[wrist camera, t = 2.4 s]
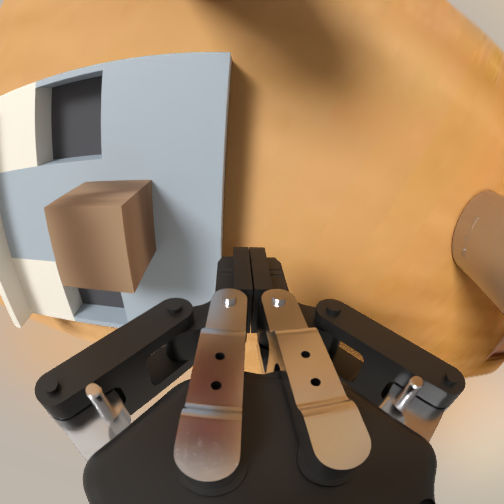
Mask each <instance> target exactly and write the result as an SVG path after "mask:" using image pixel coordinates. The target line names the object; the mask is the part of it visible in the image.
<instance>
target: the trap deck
mask: <svg viewBox="0 0 504 504" xmlns="http://www.w3.org/2000/svg"><path fill="white" fill-rule="evenodd" d="M231 65H232V58H231V52H193V53H174V54H162V55H152V56H143V57H136V58H129V59H123V60H117V61H111V62H106V63H101V64H96V65H92V66H88V67H83V68H79V69H76V70H72V71H68V72H65V73H61V74H58V75H55V76H51V77H48V78H45V79H42V80H39V81H37V82H34V83H31V84H28V85H26V86H23V87H21V88H18V89H16V90H13V91H11V92H8V93H6V94H4V95H2V96H0V215H1V219H2V223H3V228H4V232H5V236H6V239H7V243H8V246H9V250H10V253H11V257H12V260H13V263H14V266H15V269H16V272H17V275H18V278H19V280H20V283H21V286H22V288H23V291H24V294H25V296H26V299H27V301H28V303H29V306H30V308H31V310H32V313H37V314H41V315H46V316H51V317H56V318H61V319H66V320H72V321H77V322H83V323H89V324H96V325H102V326H109V327H116V328H120V327H121V326H123V325H125V324H126V323H128V322H130V321H131V320H133V319H134V318H136V317H138V316H139V315H141V314H143V313H144V312H146V311H147V310H149V309H151V308H152V307H154V306H156V305H157V304H159V303H161V302H162V301H164V300H166V299H169V298H183V299H186V300H188V301H189V302H190V303H191V304H192V306H198V305H202V304H205V303H207V302H209V301H210V300H211V298H212V295H213V294H214V293H215V287H216V276H217V265H218V261H219V260H220V259H221V258H222V242H223V208H224V181H225V159H226V140H227V122H228V106H229V91H230V77H231ZM98 76H102V92H101V149H102V154H100V155H89V156H80V157H71V158H63V159H55V160H53V149H52V126H51V103H52V88H53V87H56V86H60V85H64V84H67V83H71V82H75V81H80V80H84V79H88V78H93V77H98ZM115 180H152V200H153V216H154V229H155V241H156V252H155V254H154V256H153V258H152V260H151V261H150V263H149V265H148V267H147V269H146V271H145V273H144V275H143V277H142V279H141V281H140V283H139V285H138V287H137V289H136V291H135V293H125V292H121V295H122V299H123V303H124V308H119V307H110V306H102V305H94V304H86V303H82V300H81V296H80V293H79V290H78V288H77V287H69V286H63V284H62V281H61V277H60V274H59V271H58V267H57V264H56V260H55V256H54V253H53V249H52V245H51V240H50V236H49V232H48V227H47V222H46V217H45V212H44V207H45V206H47V205H49V204H50V203H52V202H53V201H55V200H56V199H58V198H59V197H61V196H63V195H64V194H66V193H67V192H69V191H71V190H72V189H74V188H76V187H77V186H79V185H81V184H83V183H84V182H93V181H115Z"/></svg>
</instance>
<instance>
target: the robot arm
mask: <svg viewBox="0 0 504 504" xmlns="http://www.w3.org/2000/svg"><path fill="white" fill-rule="evenodd" d="M452 254H453V258H454V261H455V262H456V264H457V266H459V267H460V268H461V269H462V270H463V271H464V272H465V273H466V274H467V275H468V276H469V277H470V278H471V279H472V280H473V281H474V282H475V284H476V285H477V286H478V287H479V288H480V289H481V290H482V291H483V292H484V293H485V294H486V295H487V296H488V298H489V299H490V300H491V301H492V302H493V303H494V304H495V305H496V306H497V308H498V309H499V310H500V311H501V312H502V313H503V314H504V197H503V196H502V195H500V194H498V193H496V192H494V191H483V192H481V193H479V194H477V195H476V196H475V197H474V198H473V199H472V200H471V201H470V202H469V203H468V204H467V206H466V207H465V209H464V210H463V212H462V214H461V216H460V218H459V220H458V222H457V225H456V228H455V231H454V235H453V242H452ZM250 323H251V333H257V336H258V338H257V350H258V355H259V360H260V365H261V370H262V374H255V373H250V372H245V371H244V360H245V343H246V339H247V333H250ZM341 341H342V342H343V343H345V344H347V345H348V346H350V347H351V348H353V349H354V350H356V351H357V352H359V353H360V354H361V355H362V356H363V359H364V363H363V362H362V361H360V360H359V359H357V358H355V357H354V356H352V355H351V354H349V353H348V352H346V351H345V350H343V349H342V348H340V347H339V345H340V342H341ZM162 346H163V347H162ZM158 349H159V350H158ZM155 351H156V352H155ZM151 354H152V355H151ZM192 366H193V369H192V374H191V379H189V380H186V381H184V382H182V383H180V384H178V385H177V386H175V387H174V388H172V389H171V390H170V391H169V392H168V393H167V394H165V395H164V396H163V397H162V398H161V399H160V400H158V402H156V403H155V404H154V405H153V406H152V407H150V408H149V409H148V410H147V411H146V412H145V413H143V414H142V415H141V416H140V417H138V418H137V419H136V420H135V421H134V422H133V423H131V417H130V415H132V414H133V413H134V412H136V411H137V410H138V409H139V408H141V407H142V406H143V405H145V404H146V403H147V402H149V401H150V400H151V399H152V398H154V397H155V396H156V395H157V394H158V393H160V392H161V391H162V390H164V389H165V388H166V387H167V386H169V385H170V384H171V383H172V382H174V381H175V380H176V379H177V378H179V377H180V376H181V375H182V374H183V373H185V372H186V371H187V370H188V369H190V368H191V367H192ZM464 388H465V379H464V377H463V375H462V373H461V372H460V371H459V370H458V369H456V368H455V367H453V366H451V365H450V364H448V363H446V362H444V361H443V360H441V359H439V358H437V357H436V356H434V355H432V354H431V353H429V352H427V351H425V350H424V349H422V348H420V347H418V346H417V345H415V344H413V343H412V342H410V341H408V340H406V339H405V338H403V337H401V336H399V335H398V334H396V333H394V332H393V331H391V330H389V329H387V328H386V327H384V326H382V325H380V324H379V323H377V322H375V321H374V320H372V319H370V318H368V317H367V316H365V315H363V314H361V313H360V312H358V311H356V310H354V309H353V308H351V307H349V306H348V305H346V304H344V303H342V302H340V301H338V300H333V299H326V300H322V301H320V302H319V303H318V304H317V306H316V307H311V306H306V305H302V304H300V303H298V302H297V300H296V298H295V296H294V295H293V294H292V293H290V292H289V290H288V287H287V283H286V280H285V276H284V273H283V271H282V266H281V263H280V262H279V261H278V260H277V259H276V258H267V257H266V253H265V248H259V247H249V248H248V247H234V249H233V257H222V258H221V259H220V260H219V261H218V265H217V276H216V287H215V293H214V294H213V295H212V298H211V300H210V301H209V302H207V303H205V304H202V305H198V306H192V304H191V303H190V302H189V301H188V300H186V299H183V298H169V299H166V300H164V301H162V302H161V303H159V304H157V305H156V306H154V307H152V308H151V309H149V310H147V311H146V312H144V313H143V314H141V315H139V316H138V317H136V318H134V319H133V320H131V321H130V322H128V323H126V324H125V325H123V326H121V327H120V328H118V329H117V330H115V331H113V332H112V333H110V334H108V335H107V336H105V337H104V338H102V339H100V340H99V341H97V342H95V343H94V344H92V345H91V346H89V347H87V348H86V349H84V350H83V351H81V352H79V353H78V354H76V355H75V356H73V357H71V358H70V359H68V360H66V361H65V362H63V363H62V364H60V365H58V366H57V367H55V368H53V369H52V370H50V371H49V372H47V373H45V374H44V375H43V376H41V377H40V379H39V380H38V381H37V383H36V386H35V395H36V397H37V399H38V400H39V402H40V403H41V404H42V405H43V407H44V408H45V409H46V410H47V412H48V414H49V415H50V416H51V417H52V418H53V419H54V420H55V422H56V423H57V424H58V425H59V426H60V427H61V428H62V429H63V430H64V431H65V432H66V434H67V435H68V436H69V438H70V439H71V441H72V442H73V443H74V445H75V446H76V448H77V449H78V450H79V452H80V453H81V454H82V456H83V457H84V458H85V460H86V461H87V464H86V466H85V469H84V473H83V486H84V490H85V493H86V496H87V498H88V501H89V503H90V504H435V499H434V482H435V475H436V468H437V460H436V455H435V452H434V450H433V448H432V446H431V445H430V443H429V441H430V439H431V437H432V435H433V433H434V431H435V429H436V427H437V425H438V423H439V421H440V419H441V417H442V415H443V412H444V411H445V410H446V409H447V408H448V407H449V406H450V405H451V404H452V403H453V402H454V400H455V399H456V398H457V397H458V396H459V395H460V394H461V392H462V391H463V390H464ZM130 423H131V424H130Z"/></svg>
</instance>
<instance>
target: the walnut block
mask: <svg viewBox="0 0 504 504" xmlns="http://www.w3.org/2000/svg"><path fill="white" fill-rule="evenodd" d="M44 212H45V217H46V222H47V227H48V232H49V236H50V240H51V245H52V249H53V253H54V256H55V260H56V264H57V267H58V271H59V274H60V277H61V281H62V284H63V286H69V287H77V288H86V289H95V290H105V291H115V292H125V293H135V291H136V289H137V287H138V285H139V283H140V281H141V279H142V277H143V275H144V273H145V271H146V269H147V267H148V265H149V263H150V261H151V260H152V258H153V256H154V254H155V252H156V241H155V229H154V216H153V200H152V180H115V181H93V182H84V183H83V184H81V185H79V186H77V187H76V188H74V189H72V190H71V191H69V192H67V193H66V194H64V195H63V196H61V197H59V198H58V199H56V200H55V201H53V202H52V203H50V204H49V205H47V206H45V207H44Z"/></svg>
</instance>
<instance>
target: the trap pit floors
mask: <svg viewBox="0 0 504 504" xmlns="http://www.w3.org/2000/svg"><path fill="white" fill-rule="evenodd" d="M101 92H102V76H98V77H93V78H88V79H84V80H80V81H75V82H71V83H67V84H64V85H60V86H56V87H53V88H52V103H51V126H52V149H53V160H55V159H63V158H71V157H80V156H89V155H100V154H102V149H101ZM78 290H79V293H80V296H81V300H82V303H86V304H94V305H102V306H110V307H119V308H124V303H123V299H122V295H121V292H115V291H105V290H95V289H86V288H78Z"/></svg>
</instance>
